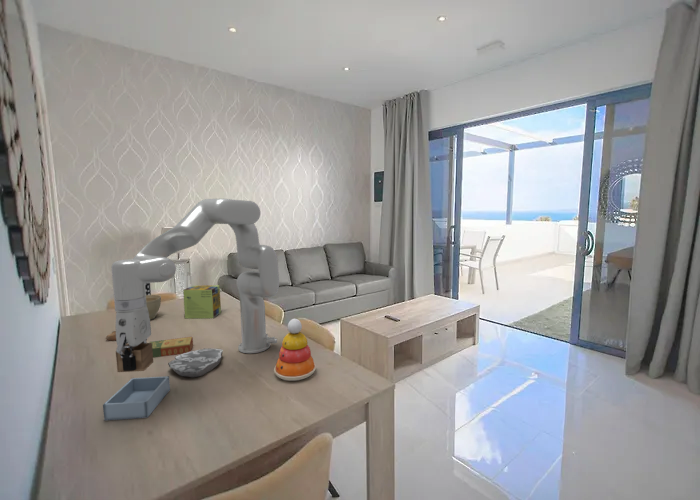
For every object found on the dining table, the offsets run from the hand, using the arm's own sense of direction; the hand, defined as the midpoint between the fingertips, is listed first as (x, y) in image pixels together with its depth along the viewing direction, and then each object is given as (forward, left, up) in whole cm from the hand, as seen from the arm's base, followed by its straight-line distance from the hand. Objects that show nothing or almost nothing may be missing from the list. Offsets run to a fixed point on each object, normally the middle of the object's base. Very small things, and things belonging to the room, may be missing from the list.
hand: (135, 364), depth 97 cm
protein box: (+9, -85, -12) cm, 86 cm away
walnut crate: (0, 0, -1) cm, 1 cm away
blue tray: (0, 0, -12) cm, 12 cm away
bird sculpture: (+34, -58, -12) cm, 68 cm away
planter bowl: (+38, -83, -12) cm, 92 cm away
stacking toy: (-44, -14, -12) cm, 48 cm away
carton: (+7, -38, -13) cm, 41 cm away
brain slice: (-8, -23, -13) cm, 28 cm away
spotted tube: (+50, -107, -12) cm, 119 cm away
